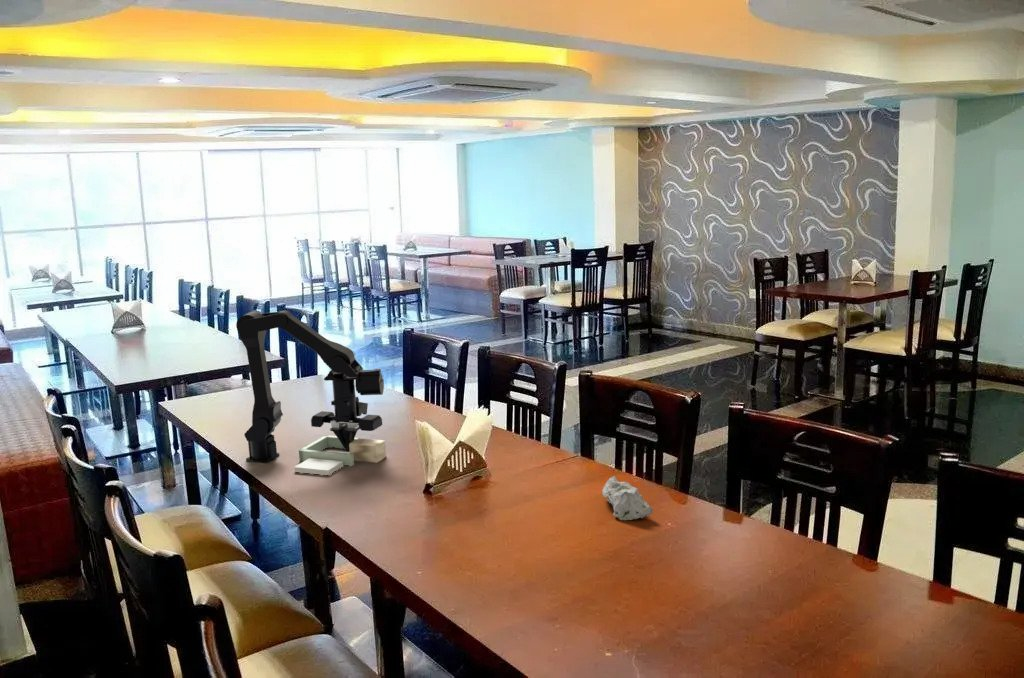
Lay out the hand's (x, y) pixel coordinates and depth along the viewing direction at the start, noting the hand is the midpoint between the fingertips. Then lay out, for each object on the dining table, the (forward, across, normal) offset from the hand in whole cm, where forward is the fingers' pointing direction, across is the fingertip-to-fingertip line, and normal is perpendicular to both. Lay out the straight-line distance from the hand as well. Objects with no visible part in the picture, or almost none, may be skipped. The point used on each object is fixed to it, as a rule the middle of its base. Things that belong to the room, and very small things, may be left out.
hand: (348, 451), depth 219 cm
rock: (+2, -78, +17) cm, 80 cm away
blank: (+1, -6, 0) cm, 6 cm away
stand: (+1, +2, +11) cm, 11 cm away
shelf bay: (+1, +3, 0) cm, 3 cm away
